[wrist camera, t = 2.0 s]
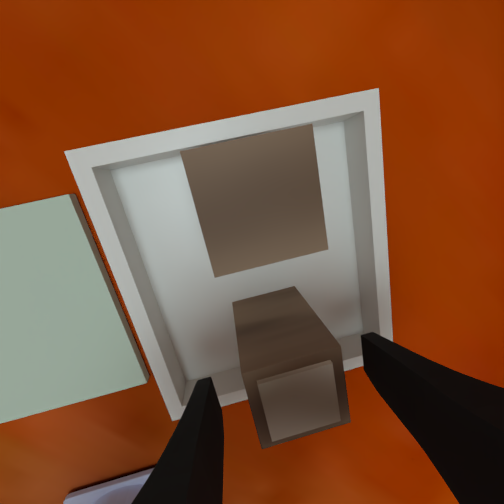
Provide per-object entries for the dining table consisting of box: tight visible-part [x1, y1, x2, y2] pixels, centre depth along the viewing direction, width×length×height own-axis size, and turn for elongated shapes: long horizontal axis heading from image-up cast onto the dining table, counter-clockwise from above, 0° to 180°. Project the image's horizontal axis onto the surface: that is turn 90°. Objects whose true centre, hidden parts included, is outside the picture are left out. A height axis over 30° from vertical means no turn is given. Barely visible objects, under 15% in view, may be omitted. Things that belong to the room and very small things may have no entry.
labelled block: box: [232, 286, 351, 449], centre depth 13 cm, size 4×4×6 cm
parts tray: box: [64, 88, 393, 421], centre depth 14 cm, size 15×14×2 cm
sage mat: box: [0, 194, 149, 423], centre depth 14 cm, size 12×9×1 cm
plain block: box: [180, 124, 328, 278], centre depth 11 cm, size 4×4×6 cm
